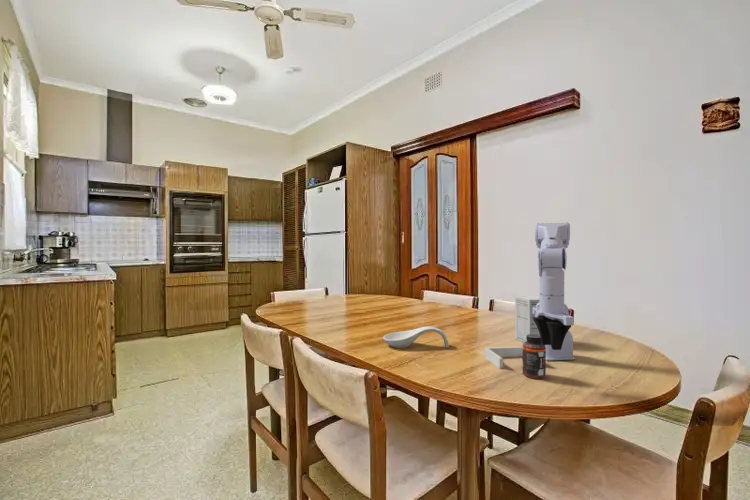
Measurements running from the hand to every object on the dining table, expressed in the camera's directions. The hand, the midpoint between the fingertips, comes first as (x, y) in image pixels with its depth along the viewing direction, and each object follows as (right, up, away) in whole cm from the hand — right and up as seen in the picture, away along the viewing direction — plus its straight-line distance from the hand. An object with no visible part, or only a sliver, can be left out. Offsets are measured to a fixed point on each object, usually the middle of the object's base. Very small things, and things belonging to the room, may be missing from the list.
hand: (551, 347), depth 91 cm
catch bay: (-2, -10, +20) cm, 23 cm away
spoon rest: (-31, -10, +38) cm, 50 cm away
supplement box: (+14, -10, +43) cm, 46 cm away
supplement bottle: (-1, -11, +8) cm, 13 cm away
